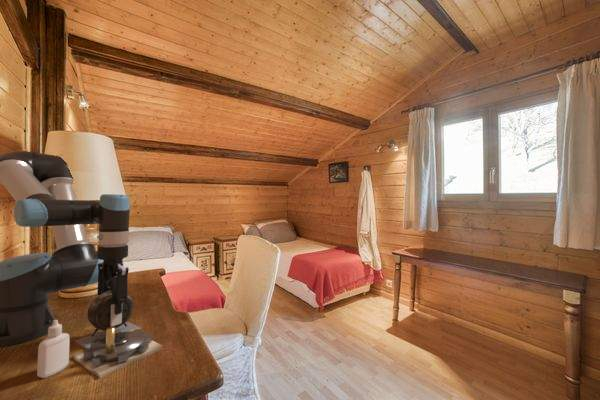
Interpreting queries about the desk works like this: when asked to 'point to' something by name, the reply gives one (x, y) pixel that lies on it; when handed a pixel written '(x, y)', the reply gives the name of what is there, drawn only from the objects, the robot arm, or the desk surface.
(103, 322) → the alarm clock
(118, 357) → the sprocket
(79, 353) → the plate
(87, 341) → the pad
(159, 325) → the desk surface
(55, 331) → the eye dropper bottle
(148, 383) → the desk surface
